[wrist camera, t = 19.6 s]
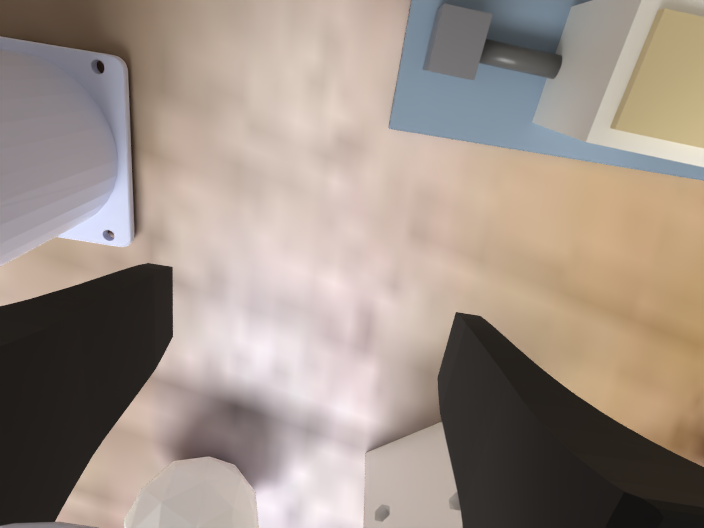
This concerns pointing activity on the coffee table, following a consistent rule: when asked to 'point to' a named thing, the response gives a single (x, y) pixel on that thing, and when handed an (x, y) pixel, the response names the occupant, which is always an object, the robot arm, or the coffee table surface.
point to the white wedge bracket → (411, 483)
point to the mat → (499, 89)
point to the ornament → (195, 497)
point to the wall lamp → (600, 72)
